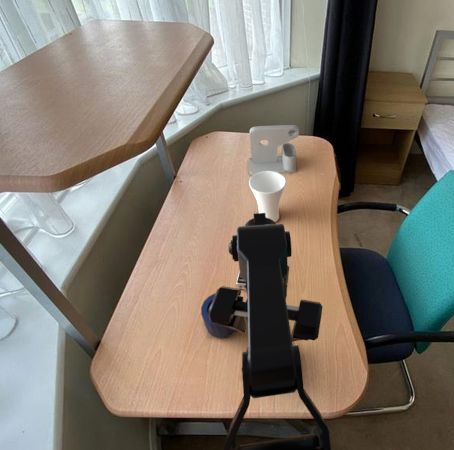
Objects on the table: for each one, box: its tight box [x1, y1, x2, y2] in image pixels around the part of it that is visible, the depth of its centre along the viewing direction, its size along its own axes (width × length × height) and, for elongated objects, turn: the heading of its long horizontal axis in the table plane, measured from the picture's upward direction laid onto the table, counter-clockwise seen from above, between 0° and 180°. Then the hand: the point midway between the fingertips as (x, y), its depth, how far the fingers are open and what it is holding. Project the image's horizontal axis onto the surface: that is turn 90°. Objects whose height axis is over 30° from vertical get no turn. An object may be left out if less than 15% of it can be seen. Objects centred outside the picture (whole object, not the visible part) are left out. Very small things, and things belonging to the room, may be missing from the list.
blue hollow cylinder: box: [200, 292, 237, 339], centre depth 73 cm, size 8×8×6 cm
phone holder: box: [248, 124, 300, 176], centre depth 114 cm, size 17×10×18 cm, turn 100°
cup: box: [248, 171, 287, 223], centre depth 96 cm, size 10×10×14 cm
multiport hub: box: [235, 269, 246, 291], centre depth 85 cm, size 4×11×2 cm, turn 176°
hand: (268, 335), depth 61 cm, fingers open, 9 cm apart
